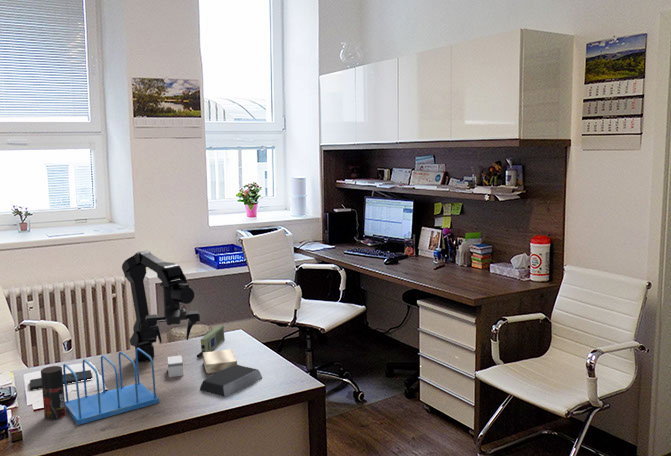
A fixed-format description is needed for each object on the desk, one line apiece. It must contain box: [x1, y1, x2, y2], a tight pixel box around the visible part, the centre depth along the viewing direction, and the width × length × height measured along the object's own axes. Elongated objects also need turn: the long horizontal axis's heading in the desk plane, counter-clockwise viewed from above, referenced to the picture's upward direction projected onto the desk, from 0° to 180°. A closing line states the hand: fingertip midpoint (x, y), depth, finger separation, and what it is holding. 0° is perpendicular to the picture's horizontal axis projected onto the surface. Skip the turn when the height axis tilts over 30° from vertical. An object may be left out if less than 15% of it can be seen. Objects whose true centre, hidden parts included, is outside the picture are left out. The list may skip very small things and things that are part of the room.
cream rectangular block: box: [202, 348, 238, 376], centre depth 229 cm, size 11×14×4 cm
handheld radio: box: [196, 324, 225, 359], centre depth 250 cm, size 7×3×25 cm
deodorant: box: [40, 365, 67, 421], centre depth 189 cm, size 6×6×15 cm
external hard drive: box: [199, 364, 263, 398], centre depth 212 cm, size 13×19×4 cm
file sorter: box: [62, 348, 160, 426], centre depth 196 cm, size 25×17×15 cm
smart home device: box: [29, 369, 93, 391], centre depth 218 cm, size 8×2×20 cm
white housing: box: [167, 354, 184, 378], centre depth 224 cm, size 5×8×5 cm, turn 17°
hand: (174, 341), depth 223 cm, fingers open, 9 cm apart
